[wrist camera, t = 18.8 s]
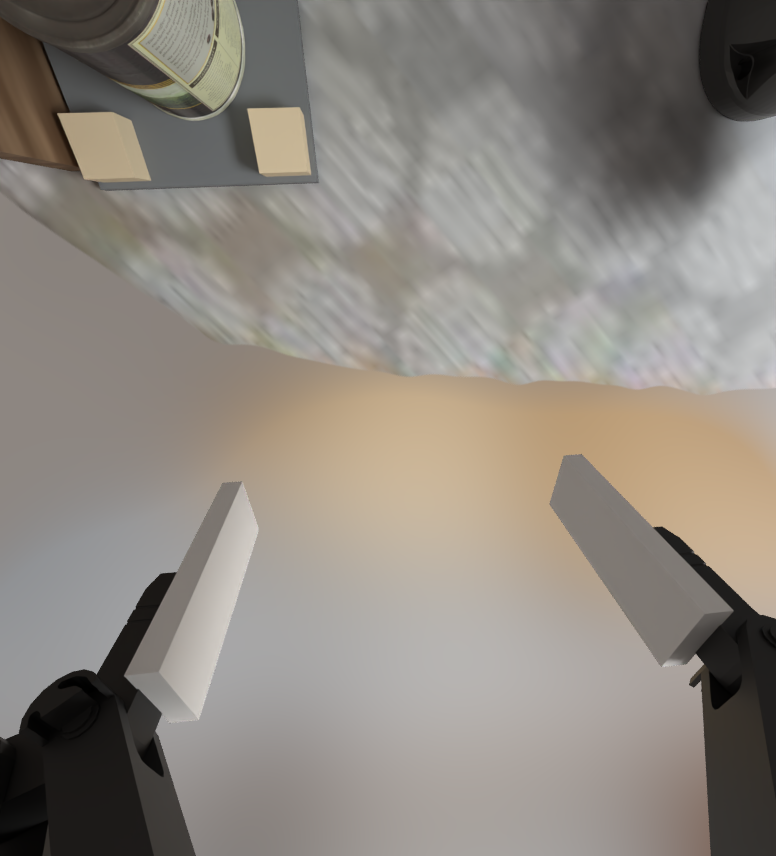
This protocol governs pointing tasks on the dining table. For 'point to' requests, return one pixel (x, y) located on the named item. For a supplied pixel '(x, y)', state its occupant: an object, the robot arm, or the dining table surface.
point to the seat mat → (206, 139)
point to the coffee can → (147, 46)
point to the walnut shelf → (31, 104)
